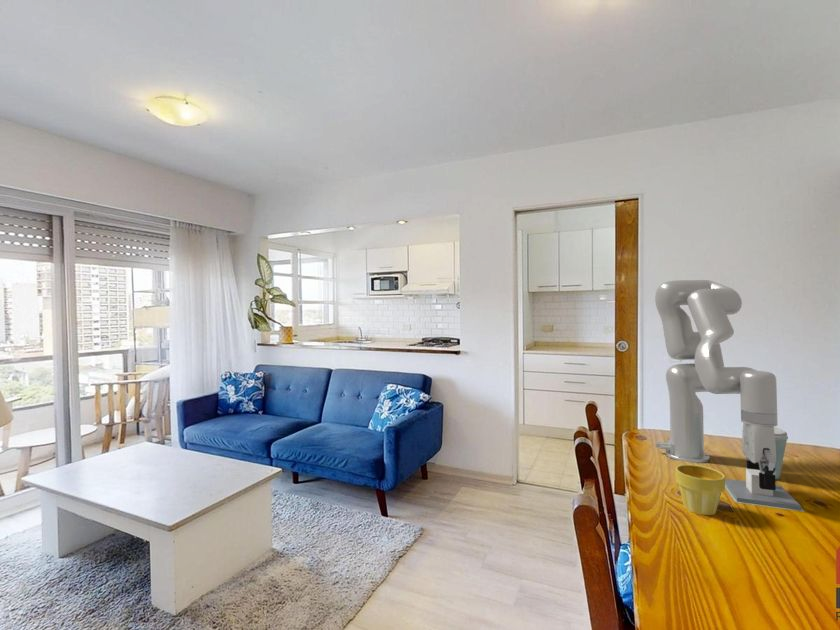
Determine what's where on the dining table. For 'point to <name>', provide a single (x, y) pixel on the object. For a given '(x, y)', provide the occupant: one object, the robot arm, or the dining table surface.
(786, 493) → the lid
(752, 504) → the mat
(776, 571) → the dining table surface
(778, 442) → the disposable coffee cup
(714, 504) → the plant pot
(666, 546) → the dining table surface
